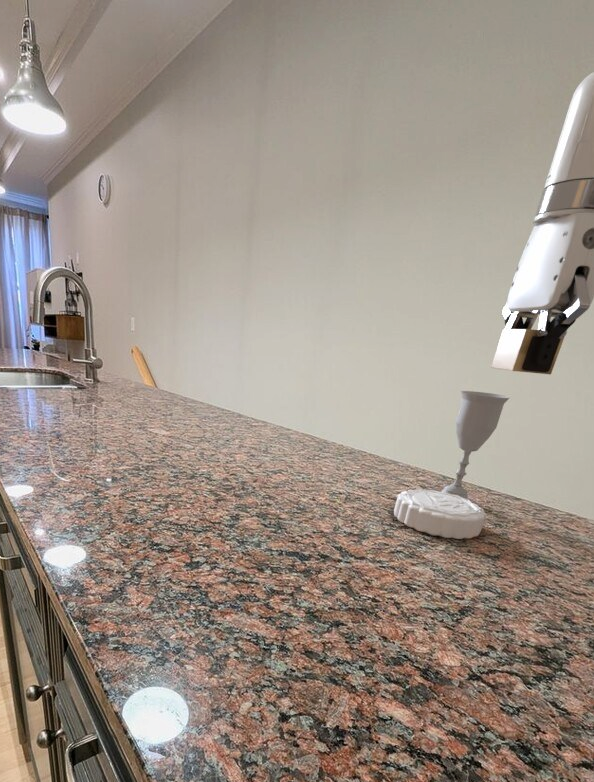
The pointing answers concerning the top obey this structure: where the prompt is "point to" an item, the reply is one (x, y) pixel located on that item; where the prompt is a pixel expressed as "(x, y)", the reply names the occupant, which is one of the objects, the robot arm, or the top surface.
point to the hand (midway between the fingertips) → (521, 367)
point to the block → (517, 350)
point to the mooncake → (439, 513)
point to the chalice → (474, 429)
